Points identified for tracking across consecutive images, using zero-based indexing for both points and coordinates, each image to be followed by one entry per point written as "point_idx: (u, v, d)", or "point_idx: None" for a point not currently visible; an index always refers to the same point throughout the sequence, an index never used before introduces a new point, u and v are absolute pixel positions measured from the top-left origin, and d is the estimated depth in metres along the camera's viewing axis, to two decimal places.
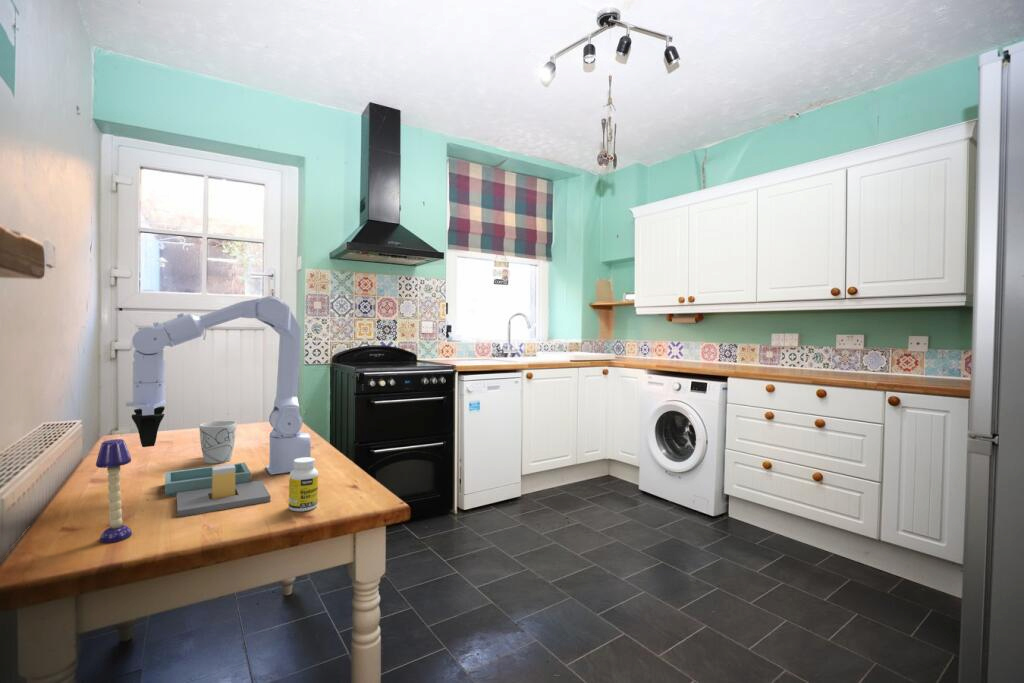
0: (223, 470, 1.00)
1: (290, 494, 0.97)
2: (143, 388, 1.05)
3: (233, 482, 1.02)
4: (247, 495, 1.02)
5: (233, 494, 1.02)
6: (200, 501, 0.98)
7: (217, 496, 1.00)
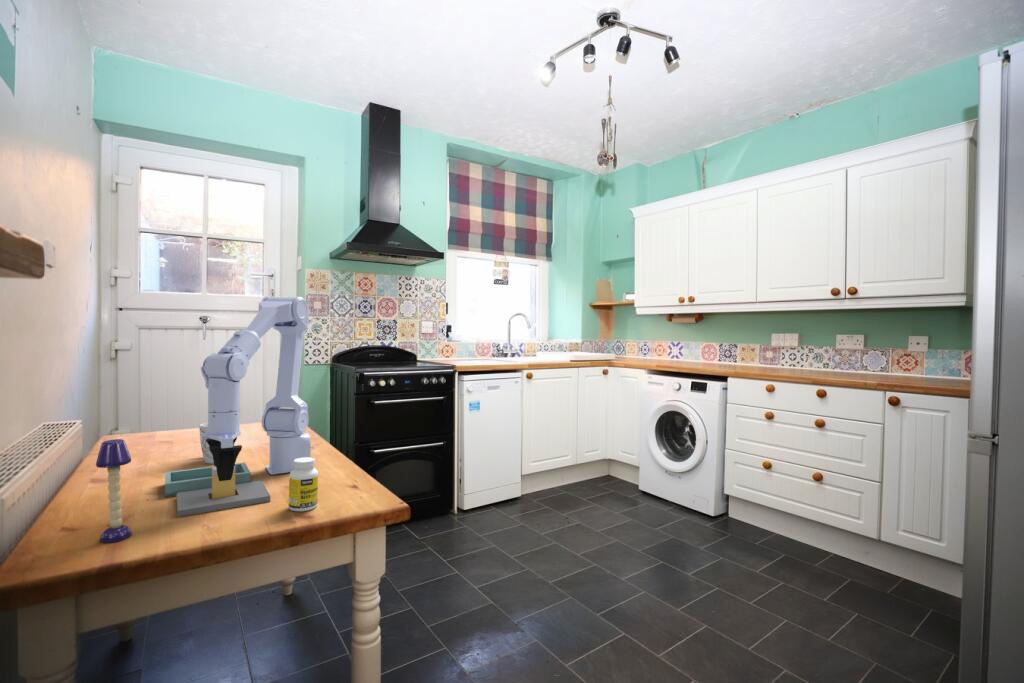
0: None
1: (290, 494, 0.97)
2: (219, 418, 0.99)
3: (233, 482, 1.02)
4: (247, 495, 1.02)
5: (233, 494, 1.02)
6: (200, 501, 0.98)
7: (217, 496, 1.00)
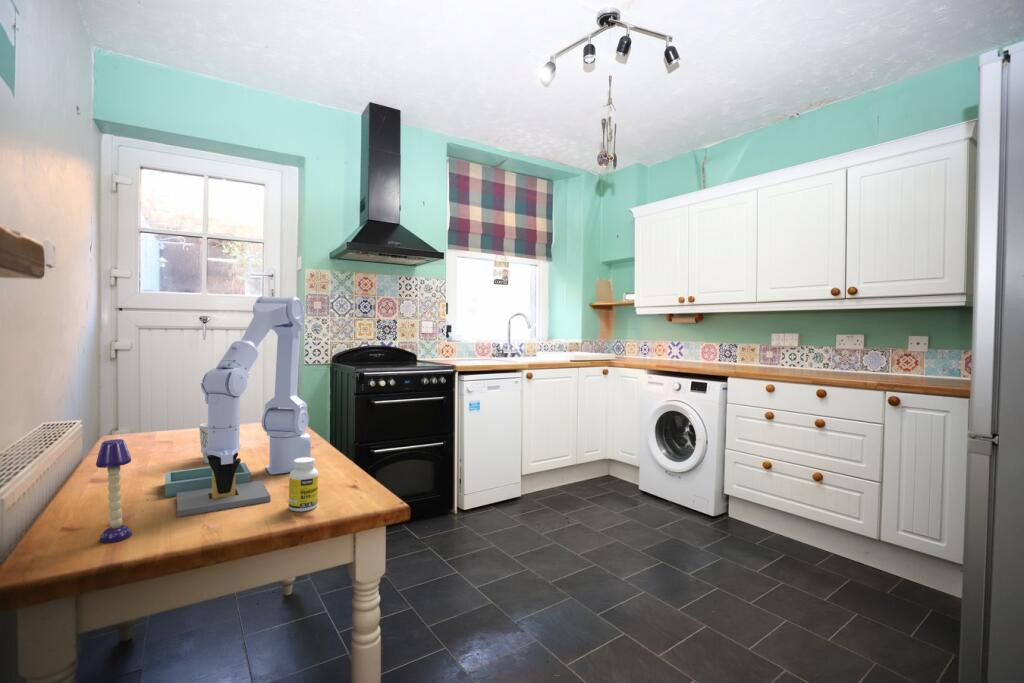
0: None
1: (290, 494, 0.97)
2: (219, 433, 0.99)
3: (233, 482, 1.02)
4: (247, 495, 1.02)
5: (233, 494, 1.02)
6: (200, 501, 0.98)
7: (217, 496, 1.00)
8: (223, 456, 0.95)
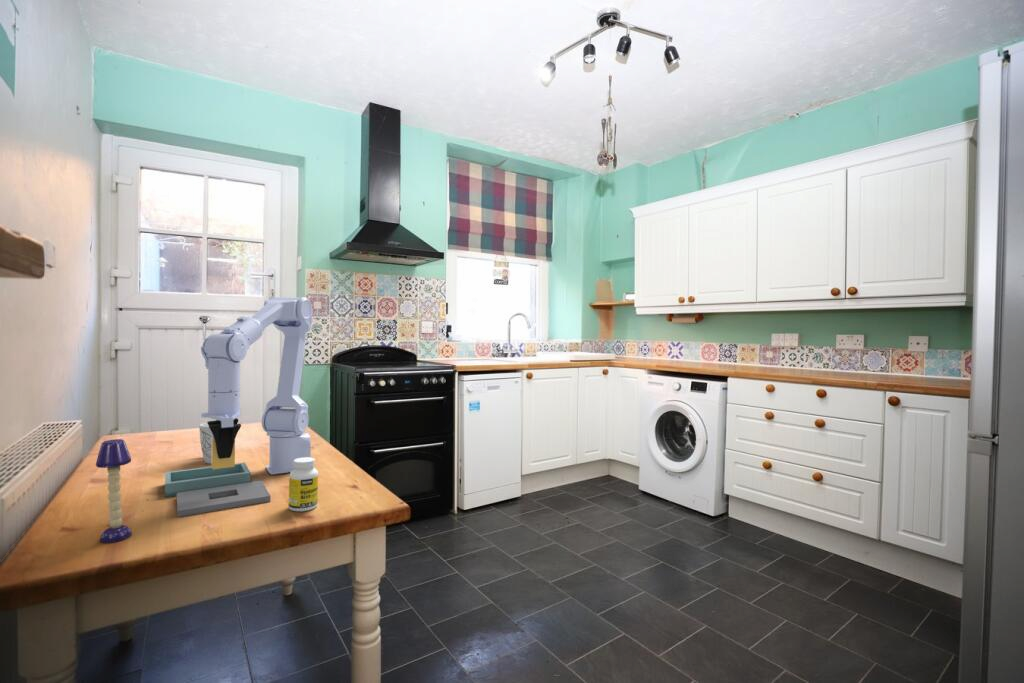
0: None
1: (290, 494, 0.97)
2: (219, 398, 0.99)
3: (233, 448, 1.01)
4: (247, 495, 1.02)
5: (233, 460, 1.01)
6: (200, 501, 0.98)
7: (217, 462, 1.00)
8: (223, 419, 0.95)
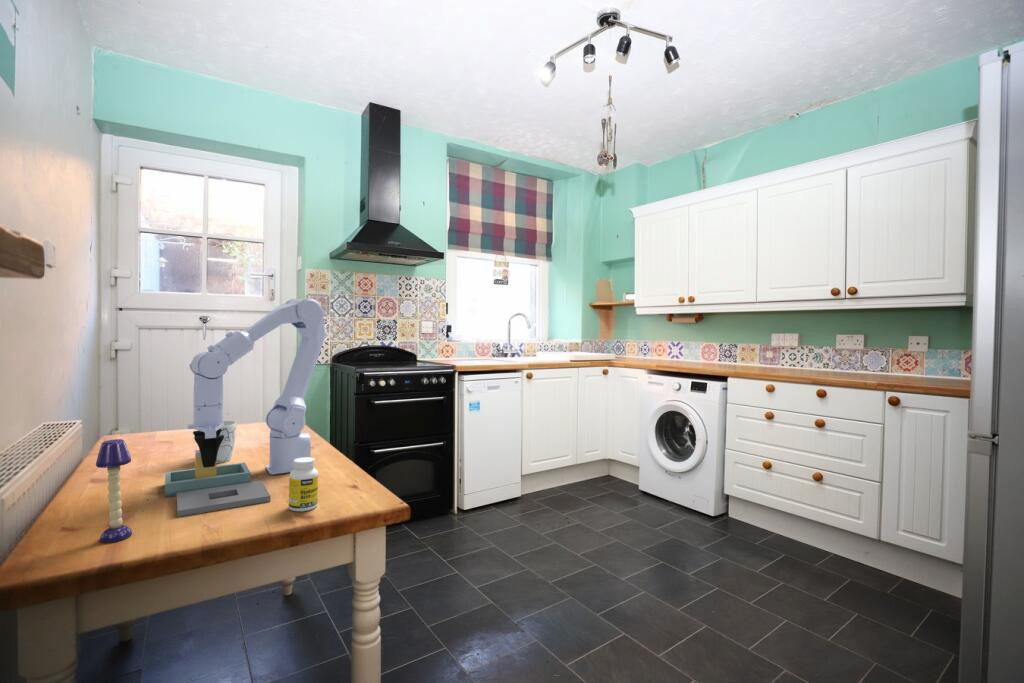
0: None
1: (290, 494, 0.97)
2: (204, 411, 1.08)
3: None
4: (247, 495, 1.02)
5: None
6: (200, 501, 0.98)
7: (199, 477, 1.09)
8: (207, 431, 1.05)
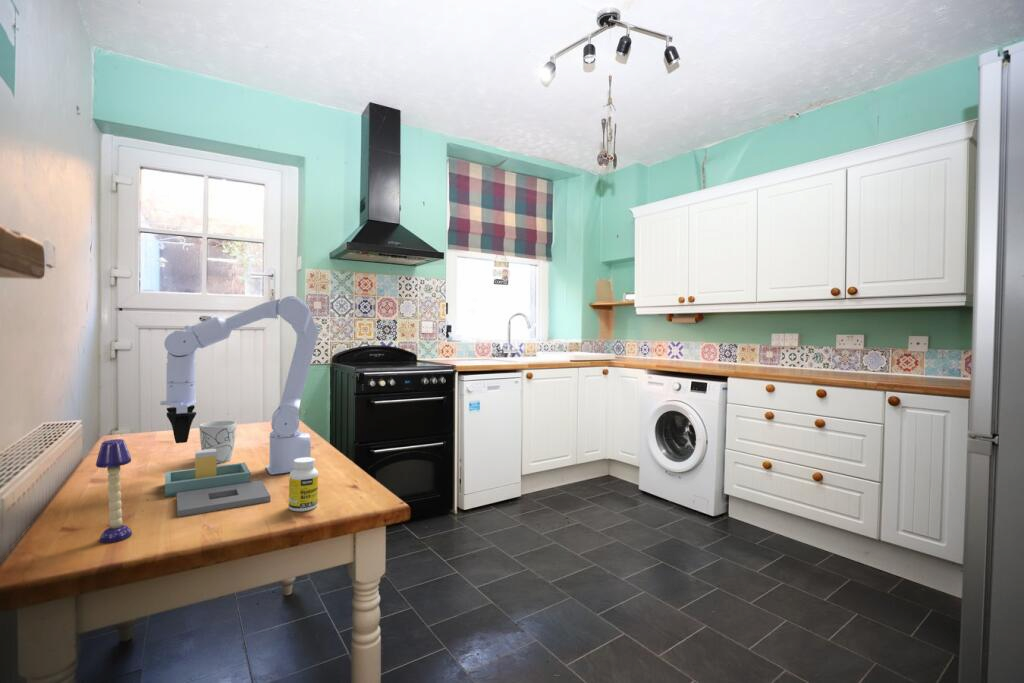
0: (205, 454, 1.10)
1: (290, 494, 0.97)
2: (176, 387, 1.12)
3: (214, 465, 1.11)
4: (247, 495, 1.02)
5: None
6: (200, 501, 0.98)
7: (199, 477, 1.09)
8: (178, 406, 1.08)
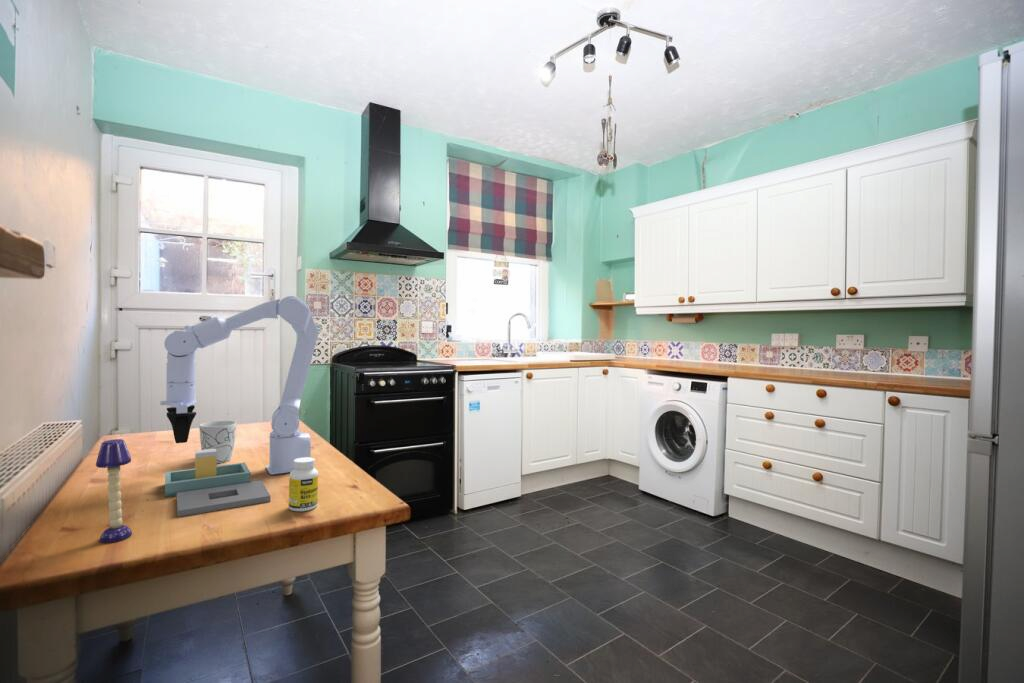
0: (205, 454, 1.10)
1: (290, 494, 0.97)
2: (176, 387, 1.12)
3: (214, 465, 1.11)
4: (247, 495, 1.02)
5: None
6: (200, 501, 0.98)
7: (199, 477, 1.09)
8: (178, 406, 1.08)
